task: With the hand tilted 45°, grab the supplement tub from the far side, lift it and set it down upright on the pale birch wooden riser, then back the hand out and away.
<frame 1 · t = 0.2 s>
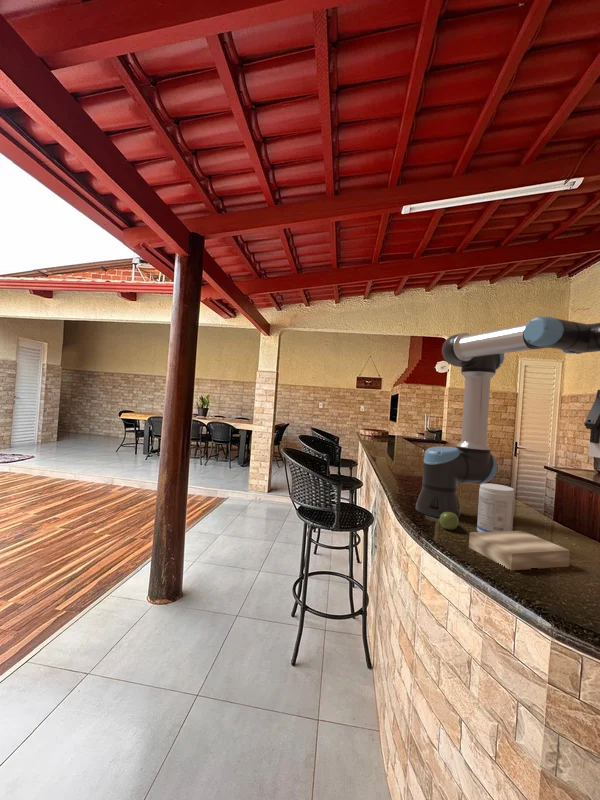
wooden riser: (516, 556, 97), on the countertop
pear: (448, 527, 119), on the countertop
supplement tub: (493, 535, 114), on the countertop
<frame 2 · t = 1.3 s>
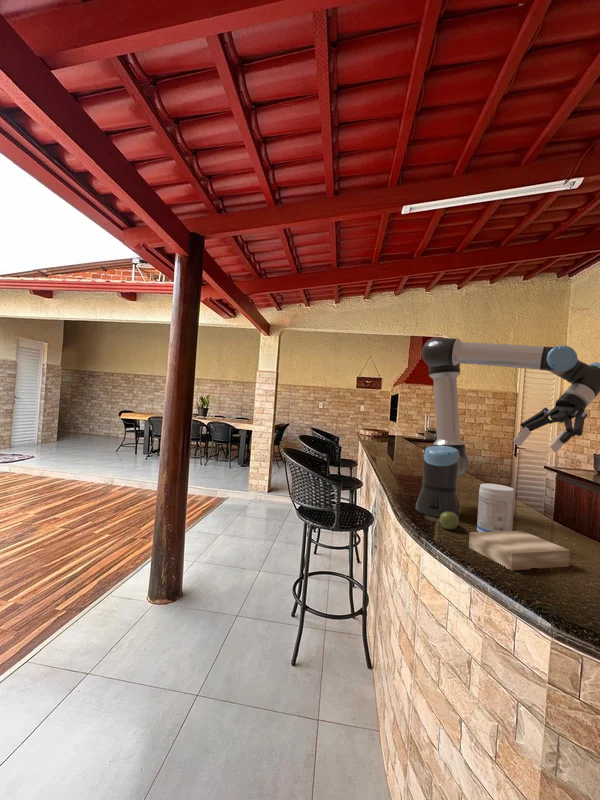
hand: (533, 446, 117), 28 cm above the countertop, tool tilted 45°, fingers open, 13 cm apart
nothing on the countertop moved.
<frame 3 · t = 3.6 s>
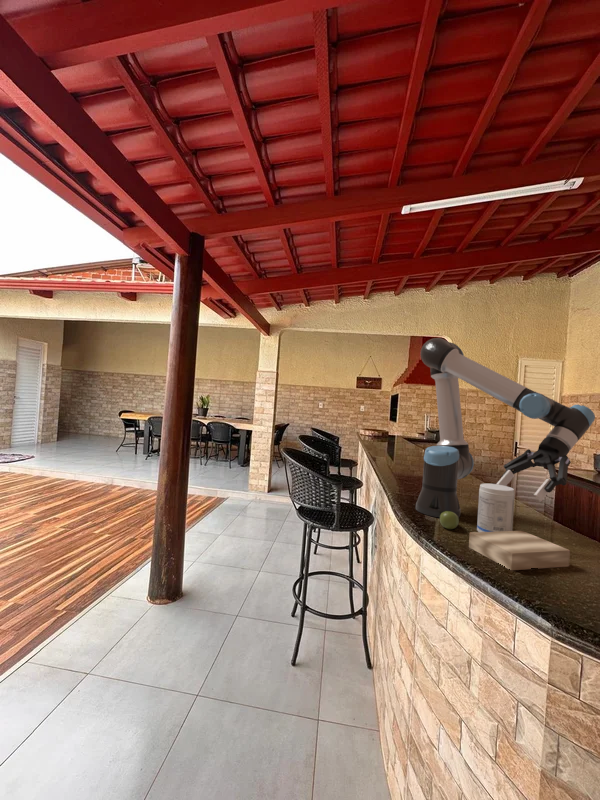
hand: (517, 492, 115), 13 cm above the countertop, tool tilted 45°, fingers open, 13 cm apart
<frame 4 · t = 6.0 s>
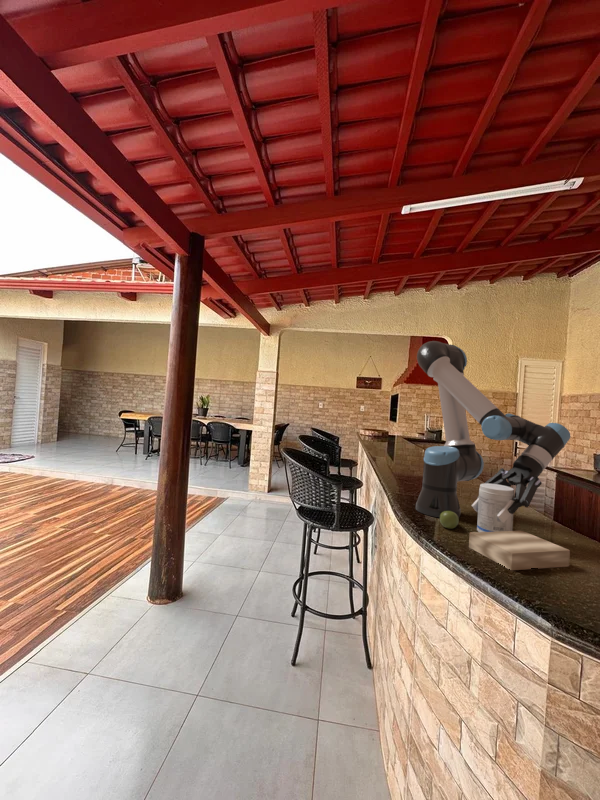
hand: (486, 513, 113), 6 cm above the countertop, tool tilted 45°, fingers closed on supplement tub, 9 cm apart
supplement tub: (493, 535, 114), on the countertop, touching gripper
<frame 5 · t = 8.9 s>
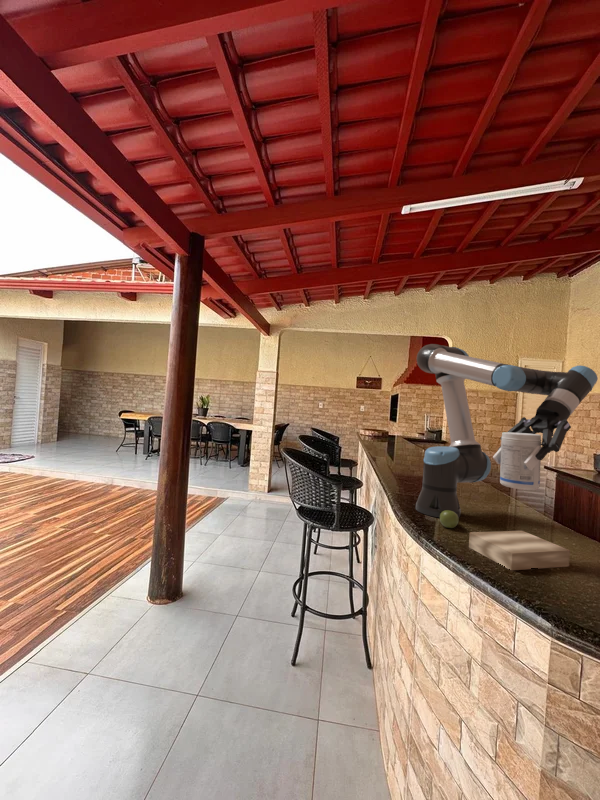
hand: (511, 463, 102), 23 cm above the countertop, tool tilted 45°, fingers closed on supplement tub, 9 cm apart
supplement tub: (519, 487, 103), point 17 cm above the countertop, touching gripper
when the fingers open (12 cm above the countertop, at t = 11.9 s): supplement tub drops 1 cm, resting on wooden riser.
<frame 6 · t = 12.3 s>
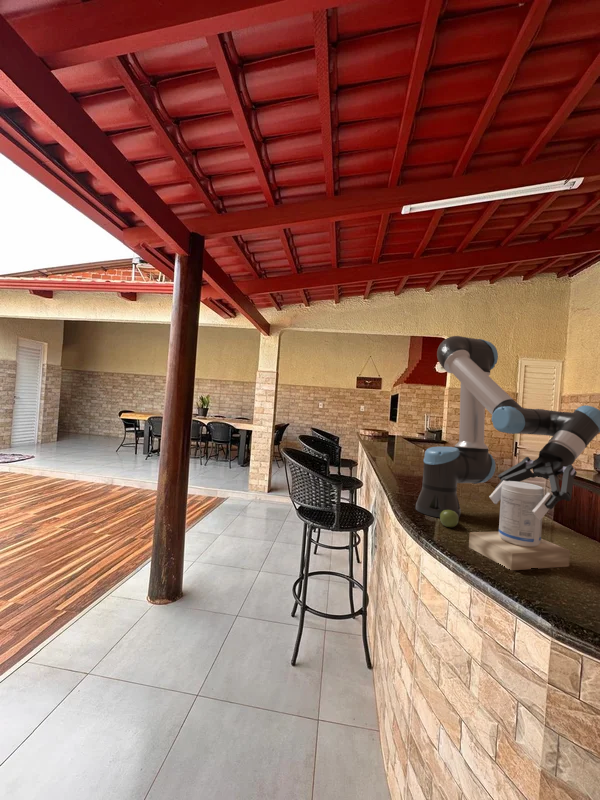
hand: (512, 507, 97), 13 cm above the countertop, tool tilted 45°, fingers open, 13 cm apart
supplement tub: (518, 541, 97), point 4 cm above the countertop, touching wooden riser
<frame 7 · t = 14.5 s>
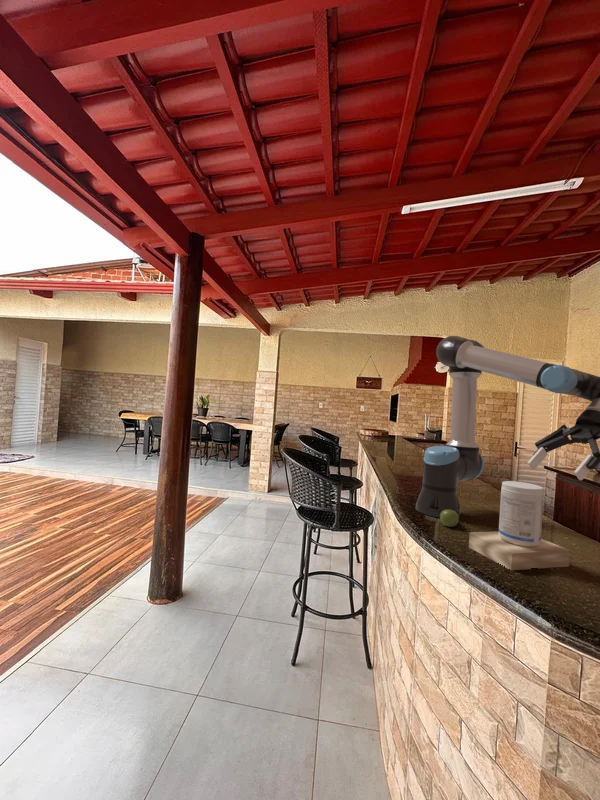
hand: (552, 471, 100), 22 cm above the countertop, tool tilted 45°, fingers open, 13 cm apart
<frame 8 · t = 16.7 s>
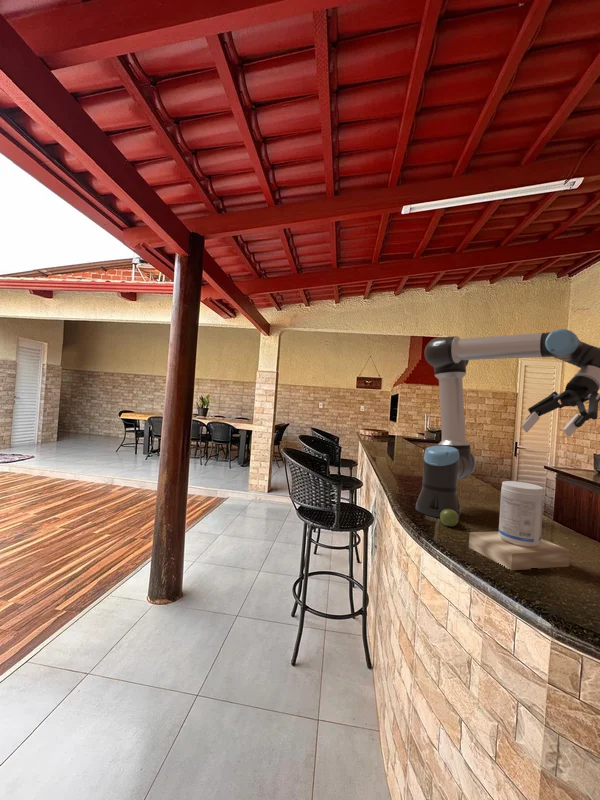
hand: (543, 430, 110), 33 cm above the countertop, tool tilted 45°, fingers open, 13 cm apart
at the end: supplement tub inside the target area on the wooden riser (0.2 cm from its centre), point 3.8 cm above the wooden riser's base; supplement tub tilted 0°; the gripper is holding nothing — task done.
